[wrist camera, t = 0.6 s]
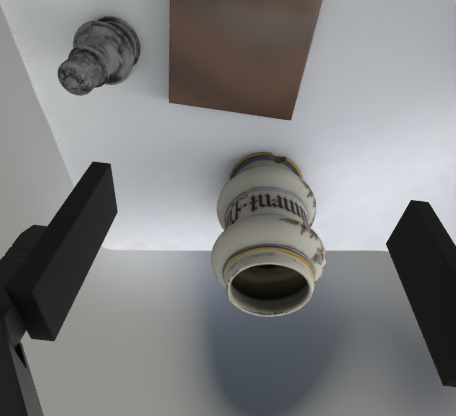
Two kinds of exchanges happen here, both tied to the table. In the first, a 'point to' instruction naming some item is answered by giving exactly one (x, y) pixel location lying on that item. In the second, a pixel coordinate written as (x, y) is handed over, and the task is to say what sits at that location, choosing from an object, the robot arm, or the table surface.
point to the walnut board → (240, 54)
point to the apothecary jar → (267, 237)
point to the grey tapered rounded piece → (99, 56)
